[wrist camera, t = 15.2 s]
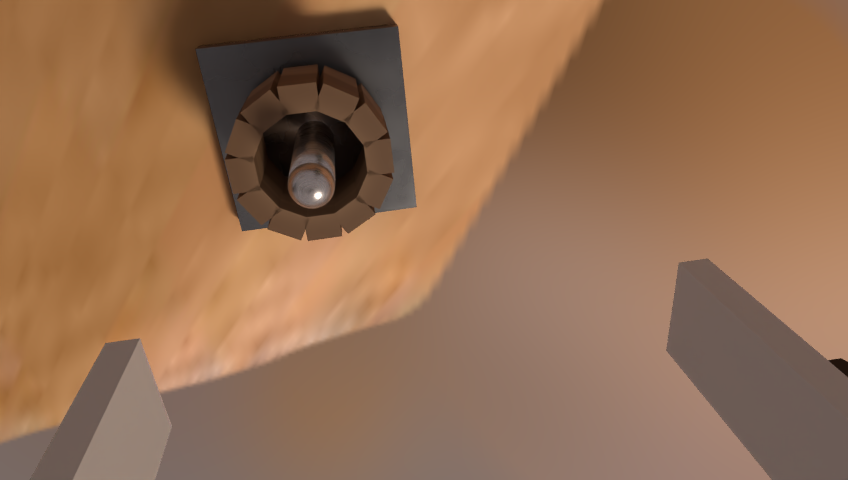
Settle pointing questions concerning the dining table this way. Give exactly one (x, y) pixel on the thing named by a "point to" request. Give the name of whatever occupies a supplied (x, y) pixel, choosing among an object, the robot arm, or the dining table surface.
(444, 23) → the dining table surface
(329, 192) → the post
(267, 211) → the ring
